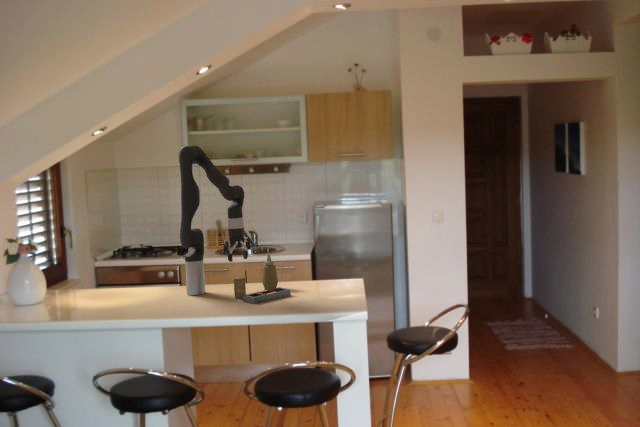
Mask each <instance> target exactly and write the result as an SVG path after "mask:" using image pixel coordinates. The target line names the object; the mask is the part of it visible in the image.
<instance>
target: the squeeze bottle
mask: <svg viewBox="0 0 640 427" xmlns="http://www.w3.org/2000/svg"><path fill="white" fill-rule="evenodd" d="M266 256H267V257H266V261H264V265H263V267H262V285H263V288H264V290H269V289H274V288H278V287H277V286H278V284H279V281H278V274H277V267H276V265H274V261H273V260H272V258H271V255H270V254H269V253H268V254H267V255H266Z"/></svg>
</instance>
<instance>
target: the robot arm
mask: <svg viewBox="0 0 640 427" xmlns="http://www.w3.org/2000/svg"><path fill="white" fill-rule="evenodd" d="M178 164H179V170H180V203H181V204H180V206H181V208H180V210H181V211H180V212H181V213H180V214H181V216H180V218H181V220H180V230H179V240H180V245H181V246H182V248H184V249H190V248H191V250H190V251H189V252H188V253H185V255H184V263H185V284H186V285H185V287H186V294H187V295H188V296H199V295H204V294H206V293H207V292H206V279H205V278H206V277H205V266H204V265H205V263H204V256H205V236H204V233H203V231H202V229H201V228H197V227H196V228H192V222H193V218H194V217H195V214H196V212H197V210H198V208H199V206H200V201H201V199H200V198H201V194H200V188H199V186H198V184H197V182H196V180H195V178H194V174H193V165H195V164H196V165H198V166H199V167H201V168H202V169H203V171H204V173H205V175H206V177H207V180H209V182H210V183H211V184H212V185H213V186H214V187H216V188H217V189H218V191H219V193H220V194H221V196H222V197H223V198H224V199H225V200H227V201H228V202H231V204H230V205H229V206H228V207H227V229H228V240H223V253H224V254H227V261H228V262H229V263H232V262H233V261H234V260H233V251H235V249H238V248H239V249H242V251H243V252H242V256H243V259H244V260H248V257H249V253H248V252H249V250H251V249H252V245H251V238H250V237H245V226H244V225H245V224H244V218H243V216H244V215H243V207H244V201H245V191H244V188H243V187H242V186H241V185H239V184H237V185H230V179H229V178H228V176H226V174H224V173H223V172H222V171H221V170H220V169H218V167H216V165H215V163H213V162H212V160H211V159H210V158H209V156H207V154H206V153H205V151H204V150H203V149H202V148H201V147H200V146H198V145H194V144H193V145H184V146H182V147H181V148H180V149H179V152H178Z"/></svg>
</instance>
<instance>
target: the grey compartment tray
mask: <svg viewBox="0 0 640 427" xmlns="http://www.w3.org/2000/svg"><path fill="white" fill-rule="evenodd" d="M291 291H292V290H291V289H289V288H284V287H276V288H274V289H269V290H265V289H263V290H260V291H256V292H252V293H246V295H243V299H242V302H243V303H248V304H252V305H257V304H261V303H265V302H270V301H274V300H279V299H282V298H287V297H291V296H292V294H291Z"/></svg>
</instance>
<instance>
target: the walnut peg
mask: <svg viewBox="0 0 640 427" xmlns="http://www.w3.org/2000/svg"><path fill="white" fill-rule="evenodd" d="M246 290H247V289H246V278H245V277H241V276H240V277H234V278H233V292H234V293H233V295H234V299H235V300H238V299H239V301H240V300H243V295H246V294H247V291H246Z"/></svg>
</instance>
